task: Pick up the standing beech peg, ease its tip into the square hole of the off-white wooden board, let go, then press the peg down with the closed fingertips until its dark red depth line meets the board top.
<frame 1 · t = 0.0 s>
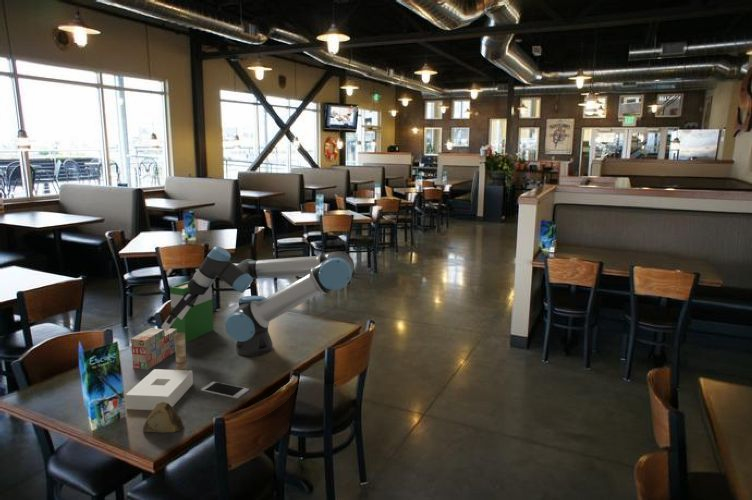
hand: (171, 323, 207), 15 cm above the table, tool tilted 35°, fingers open, 13 cm apart
smartphone: (225, 391, 185), on the table
hardback book: (193, 335, 238), on the table
hole board: (161, 395, 180), on the table
beech peg: (181, 374, 196), on the table
stack of blocks: (157, 359, 211), on the table
rock: (163, 430, 159), on the table
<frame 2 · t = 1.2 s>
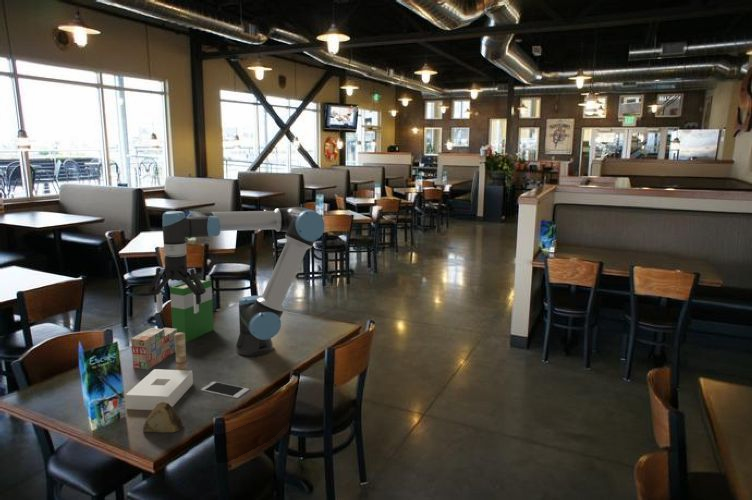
hand: (178, 311, 192), 25 cm above the table, tool pointing down, fingers open, 13 cm apart
nothing on the table moved.
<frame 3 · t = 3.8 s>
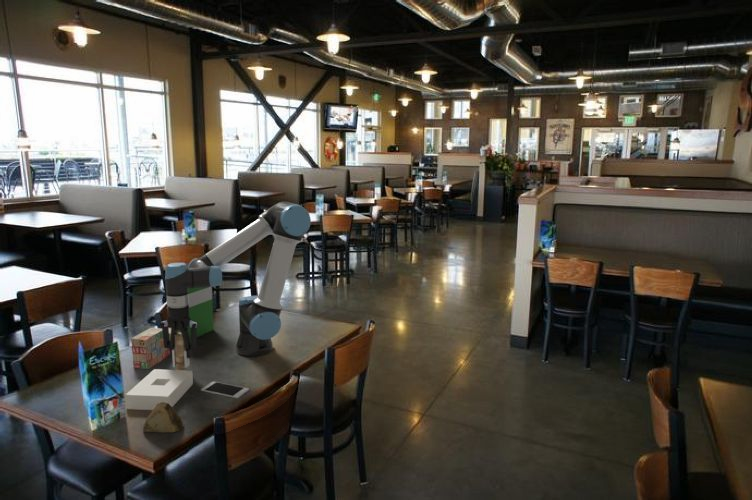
hand: (181, 365, 196), 4 cm above the table, tool pointing down, fingers closed on beech peg, 4 cm apart
beech peg: (181, 374, 196), on the table, touching gripper
everything else where it was.
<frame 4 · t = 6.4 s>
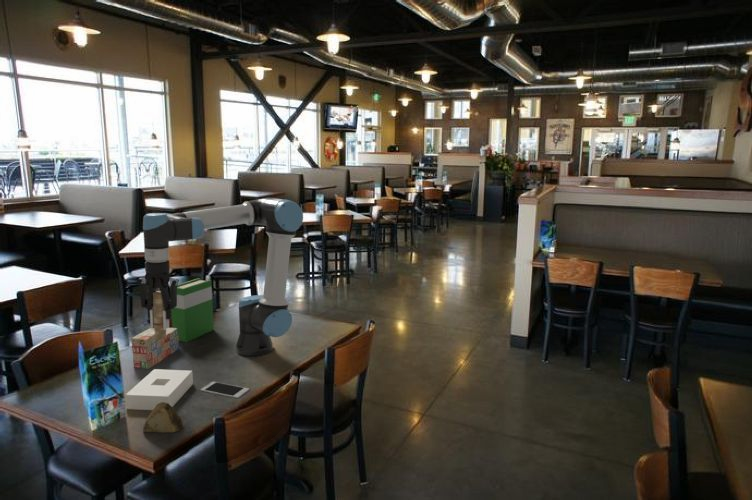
hand: (160, 327, 178), 23 cm above the table, tool pointing down, fingers closed on beech peg, 4 cm apart
beech peg: (160, 337, 179), point 20 cm above the table, touching gripper
everything else where it was.
when the fingers open (7 cm above the table, at t = 9.1 s): beech peg drops 3 cm, resting in hole board.
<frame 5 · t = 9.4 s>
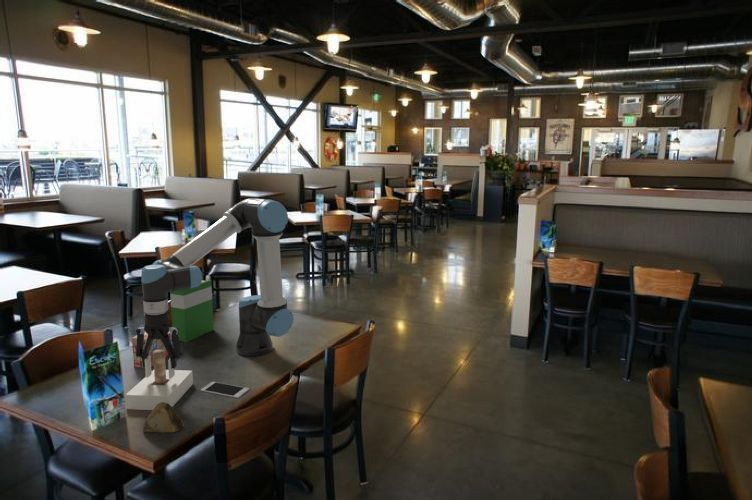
hand: (160, 376, 178), 7 cm above the table, tool pointing down, fingers open, 7 cm apart
beech peg: (161, 395, 180), resting in hole board
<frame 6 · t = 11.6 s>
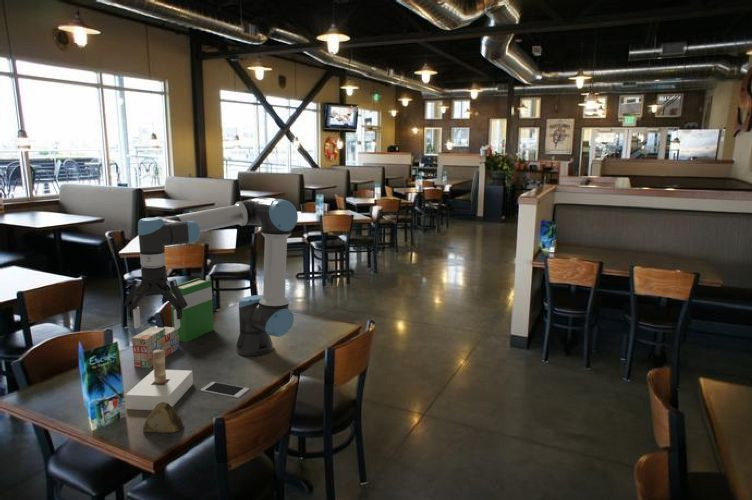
hand: (157, 327, 175), 24 cm above the table, tool pointing down, fingers open, 13 cm apart
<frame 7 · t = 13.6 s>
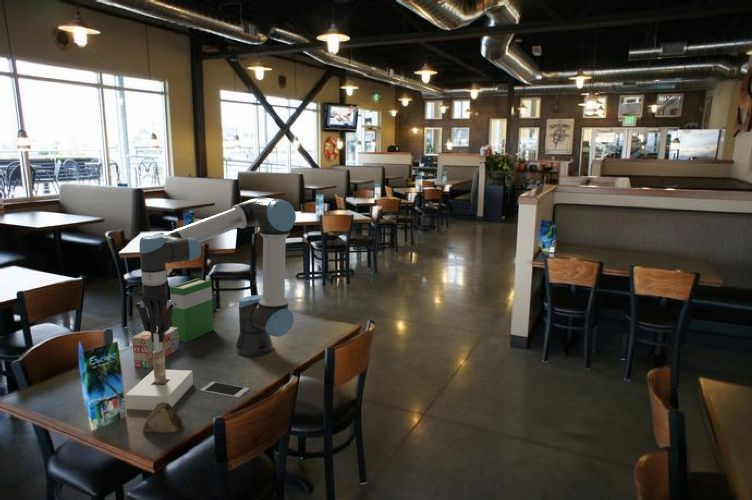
hand: (158, 350, 176), 16 cm above the table, tool pointing down, fingers closed
beech peg: (161, 395, 180), resting in hole board, touching gripper
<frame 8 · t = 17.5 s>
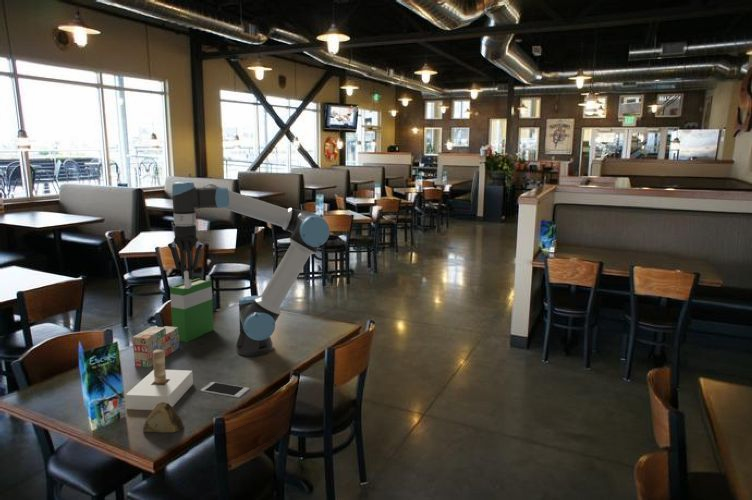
hand: (188, 287, 195), 32 cm above the table, tool pointing down, fingers closed
beech peg: (161, 395, 180), resting in hole board
at the end: beech peg 0.1 cm off-centre on the hole board, point 0.0 cm above the hole board's base; beech peg tilted 0°; the gripper is holding nothing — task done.
